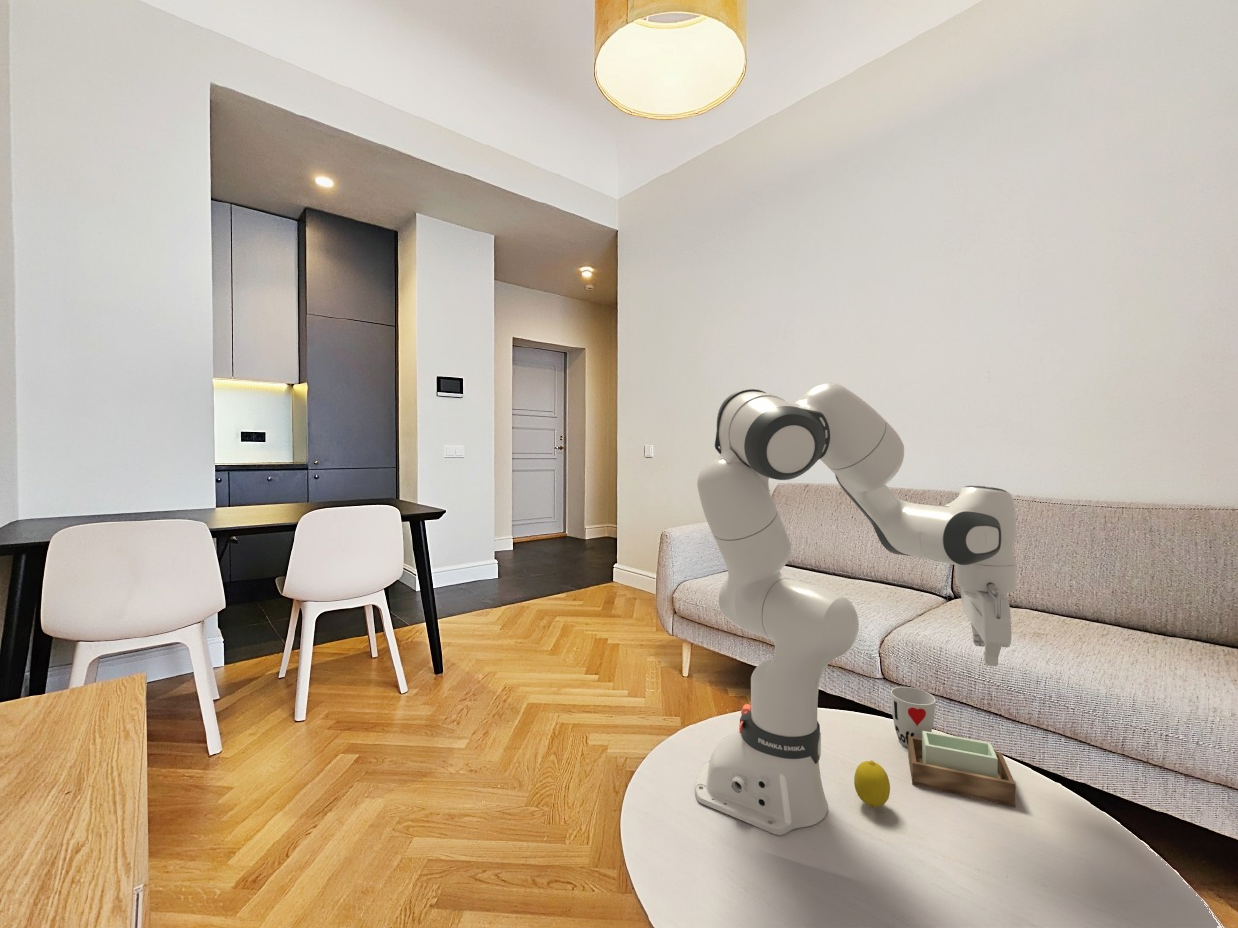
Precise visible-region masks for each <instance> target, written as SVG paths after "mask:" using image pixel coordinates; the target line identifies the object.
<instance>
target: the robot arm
mask: <svg viewBox="0 0 1238 928" xmlns="http://www.w3.org/2000/svg"><path fill="white" fill-rule="evenodd" d="M714 448H715V450H716V451H717V453H719V456H718V457H717V458H715V459H713V460H711V461H710V462H708V464H706V465H705V466H704V467H703V468H702V470H701V471H700V472H699V473H698V477H697V482H696V483H697V484H696V485H697V490H698V491H697V492H698V494H699V496H698V497H699V499H700V504H701V507H702V510H703V513H704V516H705V519H706V522H707V524H708V526H709V529H710V531H711V533H712V536H713V538H714V540H715V542H716V544H717V547H718V549H719V551H720V553H721V556H722V558H723V560H724V563H725V565H726V569H727V575H728V576H727V577H726V578H725V580H724V581H723V582H722V585H721V587H720V589H719V593H718V603H719V609H720V612H721V614H722V615H723V617H724V618H725V619H726V620H728V621H730V622H731V623H732V624H733V625H735V626H737V627H738V628H740V629H742V630H743V631H745V632H747V633H750V634H753V635H756V636H759V637H761V638H765V639H767V640H769V641H773V642H772V643H774V655H773V658H770V659H767V660H765V661H762V662H761V663H760V664H758V665H757V666H756V667H755V668H754V670H753V672H752V674H751V677H750V704H749V703H746V704H744V705H743V706H742V709H741V711H740V715H741V716H740V718H739V724H738V727H739V728H738V731H736V732H735V733H732V734H730V735H729V736H726V737H724V738H722V739H721V740H720V741H719V742H718V743H717V744H716V746H715V748H714V749H713V751H712V754H711V755H710V759H709V760H708V761H707V762H706V763H704V765H702V767H701V769H700V771H699V772H698V774H697V777H696V780H695V785H694V786H695V787H694V794H695V798H696V800H697V802H699V803H700V804H702V805H704V806H707V807H708V808H711V809H714V810H717V812H720V813H723V814H725V815H728V816H731V817H733V818H736V819H737V820H740V821H743V822H745V823H747V824H749V825H751V826H755V827H757V828H759V829H761V830H764V831H766V832H769V833H771V834H773V835H776V836H783V835H784V834H788V833H789V832H790V831H793V830H794V829H798V828H805V827H810V826H814V825H816V824H818V823H819V822H821V821H822V820H823V819H824V818H825V817H826V815H827V813H828V810H829V805H828V802H827V798H826V795H825V790H824V787H823V782H822V776H821V769H820V758H821V755H822V754H821V753H822V749H821V747H822V736H821V735H822V733H821V726H820V723H819V720H818V706H819V705H818V703H819V702H818V701H819V699H818V698H819V687H820V681H821V678H822V675H823V673H824V671H825V669H826V667H827V666H828V665H829V664H830V663H831V662H832V661H834V660H835V659H837V658H840V657H842V656H843V655H844V654H846V653H847V652H848V651H850V650H851V648H852V647H853V645H854V644H855V642H856V640H857V637H858V635H859V629H860V627H859V625H860V624H859V616H858V614H857V610H856V608H855V606H854V605H853V603H852V601H850V599H848V598H846V596H845V597H844V596H843V595H841V594H838V593H837V592H835V591H833V590H830V589H828V588H826V587H824V586H820V585H816V584H812V583H808V582H803V581H801V580H795V579H791V578H789V577H786V575H784V574H783V573H782V572H781V570H783V568H785V566H786V565H787V563H788V561H789V559H790V556H791V553H792V543H791V539H790V537H789V535H788V532H787V530H786V528H785V526H784V523H783V521H782V518H781V515H780V513H779V511H778V508H777V506H776V504H775V501H774V499H773V497H772V494H771V493H770V486H769V485H770V483H769V479H773V480H778V481H788V480H792V479H796V478H797V477H801V476H802V475H803V474H804V473H806V472H808V471H809V470H810V469H811V468H812V467H813V466H814V465H815V464H816V463H817V462H818V461H819V460H820V461H821V462H822V463H823V464H825V466H826V467H827V468H828V469H829V470H831V472H832V473H833V474H834V475H835V479H836V481H837V483H838V485H839V486H840V487H841V489H842V490H843V492H844V493H846V495H847V496H848V498H850V500H851V501H852V502H853V503H854V504H855V506H856V507H857V508H858V509H859V510H860V511H861V512H862V514H863V515H864V516H865V517H866V518H867V519H868V521H869V522H870V523H871V526H872V527H873V529H874V532H875V533H876V536H877V538H878V541H879V542H880V544H881V545H882V546H883V548H885V550H886V551H888V552H889V553H891V554H894V555H900V556H907V557H916V558H921V559H923V560H924V559H925V560H929V561H933V562H940V563H945V564H950V565H955V584H956V585H957V586H958V587H959V589H960V597H961V606H962V610H963V612H964V614H965V615H966V617H967V618H968V620H969V622H970V627H971V628H970V629H971V633H972V643H973V644H974V645H975V646H976V647H981V648H983V647H984V651H983V661H984V663H985V664H986V665H987V666H989V667H990V666H991V667H997V666H999V655H1000V652H1001V649H1002V648H1009V647H1010V646H1011V644H1012V617H1011V608H1010V603H1009V600H1008V595H1007V594H1008V593H1013V592H1015V591H1016V590H1017V559H1016V556H1015V554H1014V547H1015V543H1016V541H1017V516H1016V509H1015V508H1016V507H1015V504H1014V499H1013V497H1012V494H1011V493H1010V492H1009V491H1007V490H1005V489H1002V488H998V487H992V486H991V487H990V486H989V487H988V486H985V485H983V486H982V485H965V486H962V487H961V488H960V489H959V495H958V496H957V497H956V498H955V499H954V500H953V501H951V502H949V503H947V504H944V506H943V505H941V506H939V505H931V504H921V503H917V502H916V503H915V502H910V501H906V500H903V499H900V498H898V497H897V496H895V495H894V493H893V492H892V491H891V489H890V488H889V487H888V486H887V484H888V483H889V482H890V481H892V479H893V478H894V477H895V476H896V475H897V473H898V472H899V471H900V468H901V467H902V464H903V461H904V457H905V446H904V443H903V441H902V439H901V437H900V436H899V434H898V433H897V431H896V430H895V429H894V428H893V426H892V425H891V424H890V423H889V422H888V421H887V420H886V419H885V418H884V417H883V416H882V415H881V414H880V413H879V412H878V411H877V410H875V409H874V408H873V407H872V406H871V405H870V404H869V403H867V401H865V400H864V399H862V398H861V397H860V396H858V395H857V394H856V393H854V392H852V391H851V390H850V389H848V388H846V387H845V386H843V385H841V384H840V383H839V384H838V383H833V382H827V383H826V382H824V383H822V384H818V385H816V386H813V387H812V388H810V389H809V390H806V392H805V393H803V395H802V396H801V397H800V398H799V399H798V400H796V401H793V402H789V401H786V400H785V399H784V398H781V397H779V396H776V395H774V394H771V393H767V392H765V391H763V390H760V389H754V388H753V389H752V388H750V389H749V388H748V389H742V390H739V391H738V390H737V391H736V392H733V393H731V394H730V395H728V397H726V399H724V400H723V402H722V403H721V405H720V407H719V409H718V412H717V417H716V433H715V441H714Z"/></svg>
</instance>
